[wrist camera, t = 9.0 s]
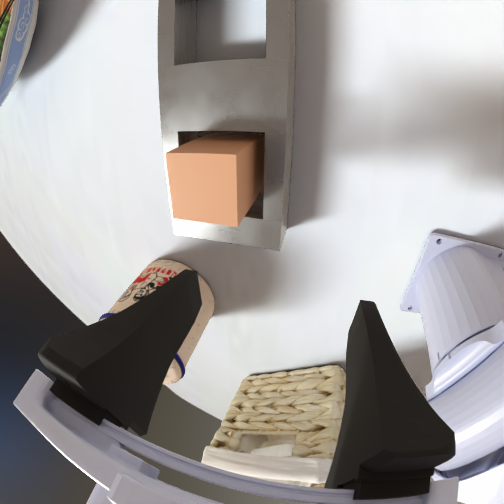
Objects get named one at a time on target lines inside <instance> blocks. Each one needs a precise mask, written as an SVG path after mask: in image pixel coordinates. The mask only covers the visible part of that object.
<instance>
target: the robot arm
mask: <svg viewBox="0 0 504 504" xmlns="http://www.w3.org/2000/svg"><path fill="white" fill-rule="evenodd" d="M438 239H441V240H440V241H439V242H436V241H437V240H438ZM499 254H500V255H499ZM201 306H202V299H201V292H200V286H199V280H198V273H197V271H193V270H188V269H185V270H183V271H182V272H180V273H179V274H177V275H176V276H174V277H173V278H171V279H170V280H169V281H167V282H166V283H164V284H163V285H162V286H160V287H159V288H157V289H156V290H154V291H153V292H151V293H150V294H148V295H147V296H145V297H144V298H142V299H140V300H139V301H137V302H136V303H134V304H133V305H131V306H129V307H127V308H126V309H124V310H122V311H120V312H118V313H116V314H114V315H112V316H110V317H108V318H105V319H103V320H101V321H98V322H96V323H94V324H91V325H88V326H86V327H83V328H80V329H76V330H74V331H69V332H66V333H61V334H57V335H53V336H51V338H50V339H49V340H48V341H47V343H46V344H45V345H44V347H43V348H42V349H41V350H40V352H39V353H38V356H39V359H40V360H41V361H42V362H43V364H44V365H45V366H46V367H47V369H48V370H49V371H50V372H51V373H52V374H53V375H54V376H55V378H56V381H55V382H52V380H50V379H49V378H48V377H47V376H45V375H44V374H43V373H41V372H40V371H39V370H38V369H36V370H35V372H34V373H33V375H32V376H31V377H30V379H29V380H28V382H27V383H26V384H25V386H24V387H23V389H22V390H21V392H20V393H19V395H18V396H17V398H16V399H15V401H14V402H13V403H14V405H15V406H16V407H17V408H18V409H19V410H20V411H21V412H22V414H23V415H24V416H25V417H26V418H27V419H28V420H29V421H30V422H31V423H32V424H33V425H34V426H35V427H36V428H37V429H38V430H39V431H40V433H42V435H43V436H44V437H45V438H47V440H48V441H49V442H50V443H51V444H52V445H53V446H55V447H56V448H57V449H58V450H59V451H60V452H61V453H62V454H63V455H64V456H65V457H67V458H68V459H69V460H70V461H71V462H72V463H73V464H75V465H76V466H77V467H78V468H79V469H81V470H82V471H83V472H84V473H86V474H87V475H88V476H89V477H91V478H92V479H93V480H95V481H96V482H97V484H96V486H95V488H94V490H93V492H92V494H91V496H90V498H89V500H88V502H87V503H86V504H223V503H219V502H216V501H213V500H210V499H207V498H204V497H200V496H197V495H195V494H192V493H189V492H186V491H183V490H181V489H178V488H176V487H174V486H171V485H169V484H166V483H164V482H162V481H159V480H157V476H158V474H159V472H160V471H159V469H157V468H155V467H153V466H151V465H150V464H148V463H146V462H145V461H143V460H142V459H140V458H138V457H136V456H134V455H132V454H130V453H128V452H127V451H126V448H125V447H127V448H129V449H131V450H133V451H135V452H137V453H139V454H141V455H143V456H145V457H147V458H149V459H151V460H153V461H156V462H158V463H160V464H163V465H165V466H167V467H169V468H172V469H175V470H177V471H179V472H182V473H185V474H187V475H190V476H193V477H195V478H198V479H201V480H204V481H207V482H211V483H213V484H217V485H220V486H224V487H227V488H231V489H234V490H238V491H243V492H247V493H251V494H255V495H260V496H265V497H271V498H277V499H282V500H289V501H297V502H305V503H316V504H457V501H458V502H462V503H465V504H504V249H501V248H497V247H494V246H490V245H486V244H482V243H478V242H474V241H470V240H465V239H461V238H457V237H453V236H448V235H444V234H439V233H430V234H429V235H428V237H427V240H426V243H425V246H424V248H423V251H422V254H421V257H420V259H419V262H418V264H417V267H416V269H415V272H414V274H413V277H412V279H411V281H410V284H409V286H408V288H407V291H406V293H405V295H404V297H403V300H402V302H401V304H400V309H401V310H402V311H406V312H414V313H421V316H422V321H423V326H424V330H425V335H426V341H427V346H428V352H429V358H430V364H431V372H432V380H431V382H430V383H429V384H427V385H426V386H425V388H426V399H425V397H424V396H423V395H422V393H421V392H420V391H419V389H418V388H417V386H416V385H415V383H414V382H413V380H412V379H411V377H410V375H409V374H408V372H407V370H406V368H405V367H404V365H403V363H402V361H401V359H400V357H399V355H398V353H397V351H396V349H395V347H394V345H393V343H392V341H391V339H390V337H389V335H388V332H387V330H386V328H385V326H384V323H383V321H382V319H381V316H380V314H379V311H378V309H377V307H376V304H375V303H374V302H371V301H365V300H360V303H359V305H358V308H357V311H356V314H355V316H354V319H353V322H352V324H351V327H350V329H349V333H348V342H347V351H346V393H345V405H344V411H343V417H342V423H341V428H340V432H339V437H338V441H337V445H336V449H335V453H334V457H333V461H332V464H331V467H330V471H329V474H328V477H327V480H326V483H325V486H324V488H315V487H306V486H298V485H290V484H284V483H278V482H272V481H267V480H262V479H258V478H253V477H249V476H245V475H240V474H237V473H233V472H229V471H226V470H222V469H219V468H215V467H212V466H209V465H206V464H203V463H200V462H197V461H194V460H191V459H188V458H186V457H183V456H181V455H178V454H175V453H173V452H171V451H168V450H166V449H163V448H161V447H158V446H156V445H154V444H152V443H150V442H148V441H146V440H144V439H141V438H139V437H137V436H135V435H133V434H131V433H129V432H127V431H126V430H129V431H131V432H133V433H135V434H137V435H139V436H142V435H145V434H147V431H148V427H149V423H150V420H151V416H152V413H153V410H154V407H155V403H156V401H157V397H158V395H159V392H160V390H161V387H162V384H163V382H164V379H165V377H166V375H167V372H168V370H169V367H170V365H171V363H172V361H173V359H174V358H175V356H176V354H177V352H178V351H179V349H180V347H181V345H182V344H183V342H184V340H185V339H186V337H187V335H188V333H189V332H190V330H191V328H192V326H193V324H194V323H195V321H196V318H197V316H198V313H199V311H200V308H201ZM409 306H411V307H409ZM120 427H122V428H124V429H125V430H124V429H122V428H120ZM430 476H431V477H432V478H433V479H434V481H433V482H430Z"/></svg>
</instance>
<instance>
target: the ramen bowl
mask: <svg viewBox="0 0 504 504" xmlns="http://www.w3.org/2000/svg"><path fill="white" fill-rule="evenodd" d="M38 6H39V0H0V106H1V105H2V103H3V102H4V100H5V99H6V97H7V96H8V94H9V92H10V91H11V89H12V87H13V86H14V84H15V82H16V81H17V79H18V77H19V74H20V72H21V70H22V67H23V65H24V62H25V59H26V57H27V54H28V52H29V49H30V45H31V41H32V37H33V34H34V30H35V27H36V21H37V13H38Z"/></svg>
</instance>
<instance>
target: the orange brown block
mask: <svg viewBox="0 0 504 504" xmlns="http://www.w3.org/2000/svg"><path fill="white" fill-rule="evenodd" d="M165 156H166V165H167V174H168V183H169V191H170V199H171V206H172V213H173V219H180V220H188V221H196V222H204V223H211V224H219V225H226V226H234V227H238V226H239V224H240V223H241V221H242V220H243V218H244V217H245V215H246V213H247V212H248V210H249V209H250V207H251V206H252V204H253V203H254V201H255V200H256V198H257V197H258V195H259V194H260V192H261V191H262V189H263V176H264V135H263V134H243V133H208V134H206V135H203V136H201V137H199V138H197V139H194V140H192V141H190V142H188V143H185V144H183V145H181V146H179V147H177V148H175V149H173V150H171V151H169V152H167V153H165Z"/></svg>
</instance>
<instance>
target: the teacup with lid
mask: <svg viewBox="0 0 504 504" xmlns="http://www.w3.org/2000/svg"><path fill="white" fill-rule="evenodd" d="M185 269H188V270H192V269H191V268H189V267H187V266H186V265H184V264H181V263H179V262H176V261H172V260H157V261H154V262H152V263H150V264H149V265H148V266H147V267H146V268H145V269H144V270H143V271H142V273H141V274H140V275H139V276H138V277H137V278H136V279H135V281H134V282H133V283H132V284H131V285H130V286H129V288H128V289H127V290H126V291H125V292H124V293H123V295H122V296H121V297H120V298H119V299H118V301H117V302H116V303H115V304H114V305H113V307H112V308H111V309H110V310H109V312H108V313H106V314H104V315H102V316H101V317H100V319H99V321H101V320H103V319H105V318H108V317H110V316H112V315H114V314H116V313H118V312H120V311H122V310H124V309H126V308H127V307H129V306H131V305H133V304H134V303H136V302H137V301H139V300H140V299H142V298H144V297H145V296H147V295H148V294H150V293H151V292H153V291H154V290H156V289H157V288H159V287H160V286H162V285H163V284H164V283H166V282H167V281H169V280H170V279H171V278H173V277H174V276H176V275H177V274H179V273H180V272H182V271H183V270H185ZM193 271H194V270H193ZM198 280H199V286H200V292H201V299H202V306H201V308H200V311H199V313H198V316H197V318H196V321H195V323H194V324H193V326H192V328H191V330H190V332H189V333H188V335H187V337H186V339H185V340H184V342H183V344H182V345H181V347H180V349H179V351H178V352H177V354H176V356H175V358H174V359H173V361H172V363H171V365H170V367H169V370H168V372H167V375H166V377H165V379H164V382H163V384H173V383H176V382H178V381H179V380H180V379H181V378H182V377H183V376H184V374H185V366H186V364H187V362H188V360H189V358H190V356H191V355H192V353H193V351H194V349H195V347H196V345H197V343H198V341H199V339H200V337H201V335H202V333H203V331H204V329H205V327H206V325H207V324H208V322H209V320H210V318H211V316H212V314H213V312H214V308H215V300H214V296H213V293H212V291H211V289H210V287H209V286H208V284H207V283H206V282H205V280H204V279H203V278H202V277H201V276H200V275H199V274H198Z"/></svg>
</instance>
